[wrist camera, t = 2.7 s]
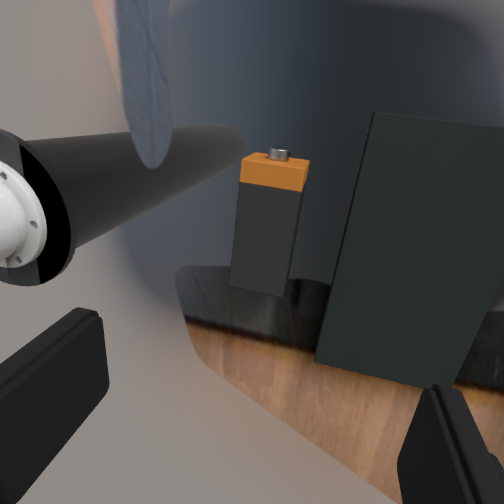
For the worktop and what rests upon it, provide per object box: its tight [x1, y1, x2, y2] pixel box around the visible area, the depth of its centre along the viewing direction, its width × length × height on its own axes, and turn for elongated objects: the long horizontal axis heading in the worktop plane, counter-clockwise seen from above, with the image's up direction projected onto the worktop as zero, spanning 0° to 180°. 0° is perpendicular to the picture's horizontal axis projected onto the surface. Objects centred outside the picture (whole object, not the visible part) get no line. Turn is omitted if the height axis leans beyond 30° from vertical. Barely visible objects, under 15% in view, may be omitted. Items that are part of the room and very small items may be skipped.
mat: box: [314, 112, 504, 389], centre depth 27 cm, size 12×22×1 cm, turn 173°
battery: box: [229, 147, 310, 297], centre depth 27 cm, size 4×11×4 cm, turn 172°
